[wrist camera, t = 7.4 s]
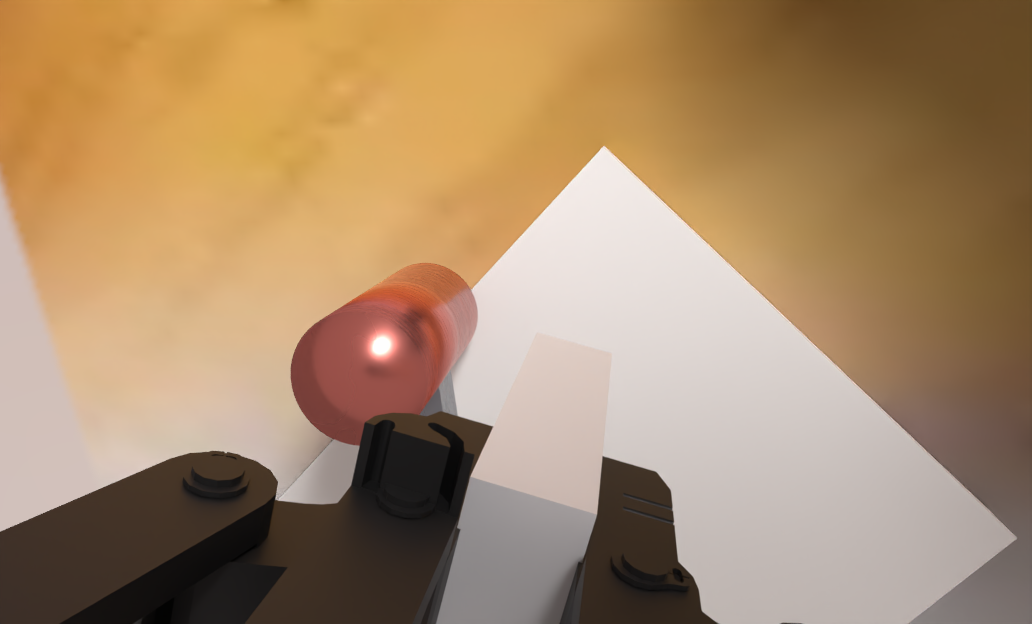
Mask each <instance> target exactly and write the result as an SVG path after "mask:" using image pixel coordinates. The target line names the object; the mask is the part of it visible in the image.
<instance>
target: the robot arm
mask: <svg viewBox="0 0 1032 624" xmlns="http://www.w3.org/2000/svg"><path fill="white" fill-rule="evenodd" d="M611 360H612V353H609V352H605V351H602V350H598V349H595V348H591V347H588V346H584V345H580V344H577V343H573V342H570V341H566V340H563V339H559V338H556V337H552V336H549V335H545V334H542V333H538V332H537V333H536V335H535V337H534V340H533V342H532V344H531V346H530V348H529V350H528V353H527V355H526V357H525V359H524V361H523V363H522V366H521V368H520V370H519V372H518V374H517V376H516V379H515V381H514V383H513V385H512V387H511V390H510V392H509V394H508V396H507V398H506V400H505V403H504V405H503V407H502V409H501V411H500V413H499V416H498V418H497V420H496V422H495V424H494V426H490V425H487V424H483V423H480V422H476V421H473V420H470V419H466V418H463V417H459V416H456V415H452V414H449V413H446V412H442V411H439V412H437V413H434V414H432V415H429V416H422V415H418V414H413V413H387V414H382V415H376V416H374V417H372V418H371V419H369V420H367V421H366V422H365V423H364V428H363V433H362V437H361V442H360V446H359V451H358V456H357V460H356V465H355V470H354V474H353V479H352V483H351V486H350V487H349V489H348V490H347V491H346V493H345V494H344V495H343V497H342V498H341V499H340V500H339V502H338V503H333V504H305V503H296V502H287V501H278V500H275V497H276V491H277V485H278V481H277V480H276V478H275V477H274V475H273V474H272V472H271V471H270V470H269V469H267V468H266V467H264V466H263V465H261V464H260V463H258V462H257V461H254V460H251V459H248V458H245V457H242V456H240V455H238V454H234V453H229V452H227V453H224V452H221V451H210V452H202V453H189V454H186V455H182V456H178V457H175V458H171V459H169V460H166V461H164V462H162V463H159V464H157V465H155V466H152V467H150V468H148V469H145V470H143V471H141V472H138V473H136V474H134V475H131V476H129V477H127V478H124V479H122V480H120V481H117V482H115V483H113V484H110V485H108V486H106V487H103V488H101V489H99V490H96V491H94V492H92V493H89V494H87V495H85V496H83V497H80V498H78V499H75V500H73V501H71V502H68V503H66V504H64V505H61V506H59V507H57V508H54V509H52V510H50V511H47V512H45V513H43V514H41V515H38V516H36V517H34V518H31V519H29V520H27V521H24V522H22V523H20V524H17V525H15V526H13V527H10V528H8V529H6V530H3V531H1V532H0V624H719V623H717V622H715V621H714V620H713V619H711V618H710V617H709V616H708V615H706V614H705V613H704V612H702V609H701V602H700V594H699V589H698V587H697V584H696V582H695V580H694V578H693V576H692V575H691V574H690V573H689V572H688V571H687V570H686V569H685V568H684V567H683V566H682V565H681V564H680V563H679V562H678V555H677V545H676V535H675V525H673V524H674V515H673V511H672V508H673V505H672V495H671V490H670V488H669V487H668V486H667V485H666V483H665V482H664V481H663V479H662V478H661V477H660V476H659V474H658V473H657V472H656V471H652V470H649V469H645V468H642V467H638V466H635V465H632V464H628V463H625V462H621V461H618V460H615V459H611V458H608V457H604V456H603V446H604V435H605V424H606V414H607V403H608V392H609V382H610V371H611ZM781 624H802V623H781Z"/></svg>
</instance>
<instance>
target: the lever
mask: <svg viewBox="0 0 1032 624" xmlns="http://www.w3.org/2000/svg"><path fill="white" fill-rule="evenodd" d="M477 321H478V311H477V305H476V301H475V298H474V295H473V293H472V291H471V289H470V288H469V286H468V285H467V283H466V282H465V281H464V280H463V279H462V278H461V277H460V276H459V275H458V274H456V273H455V272H453V271H452V270H450V269H448V268H446V267H443V266H440V265H437V264H431V263H419V264H413V265H410V266H407V267H405V268H403V269H401V270H399V271H398V272H396V273H394V274H393V275H391V276H390V277H388V278H387V279H385V280H383V281H382V282H380V283H379V284H377V285H376V286H374V287H372V288H371V289H369V290H368V291H366V292H364V293H363V294H361V295H360V296H358V297H357V298H355V299H353V300H352V301H350V302H349V303H347V304H345V305H344V306H342V307H341V308H339V309H338V310H336V311H334V312H333V313H331V314H330V315H328V316H326V317H325V318H323V319H322V320H320V321H319V322H317V323H316V324H314V325H313V326H312V327H311V328H310V329H309V330H308V331H307V332H306V333H305V334H304V335H303V337H302V338H301V340H300V341H299V343H298V345H297V347H296V349H295V352H294V355H293V359H292V364H291V383H292V388H293V392H294V396H295V398H296V401H297V403H298V405H299V407H300V409H301V410H302V412H303V413H304V415H305V416H306V418H307V419H308V420H309V421H310V422H311V423H312V424H313V425H314V426H315V427H316V428H317V429H318V430H320V431H321V432H322V433H324V434H325V435H327V436H329V437H331V438H333V439H335V440H337V441H340V442H342V443H346V444H350V445H357V446H360V442H361V437H362V433H363V428H364V423H365V422H366V421H367V420H369V419H371V418H372V417H374V416H376V415H382V414H387V413H413V414H418V415H422V416H429V415H432V414H434V413H437V412H439V411H442V412H446V413H449V414H452V415H456V416H458V413H457V407H456V401H455V394H454V388H453V382H452V375H451V369H452V367H453V366H454V364H455V363H456V361H457V360H458V358H459V357H460V356H461V354H462V353H463V351H464V350H465V348H466V347H467V346H468V344H469V343H470V341H471V340H472V338H473V336H474V333H475V330H476V327H477Z"/></svg>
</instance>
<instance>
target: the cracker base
mask: <svg viewBox="0 0 1032 624" xmlns="http://www.w3.org/2000/svg"><path fill="white" fill-rule="evenodd" d="M471 291H472V293H473V295H474V298H475V301H476V305H477V311H478V321H477V327H476V330H475V333H474V336H473V338H472V340H471V341H470V343H469V344H468V346H467V347H466V348H465V350H464V351H463V353H462V354H461V356H460V357H459V358H458V360H457V361H456V363H455V364H454V366H453V367H452V369H451V375H452V382H453V388H454V394H455V401H456V407H457V413H458V416H459V417H463V418H466V419H470V420H473V421H476V422H480V423H483V424H487V425H490V426H494V424H495V422H496V420H497V418H498V416H499V413H500V411H501V409H502V407H503V405H504V403H505V400H506V398H507V396H508V394H509V392H510V390H511V387H512V385H513V383H514V381H515V379H516V376H517V374H518V372H519V370H520V368H521V366H522V363H523V361H524V359H525V357H526V355H527V353H528V350H529V348H530V346H531V344H532V342H533V340H534V337H535V335H536V333H537V332H538V333H542V334H545V335H549V336H552V337H556V338H559V339H563V340H566V341H570V342H573V343H577V344H580V345H584V346H588V347H591V348H595V349H598V350H602V351H605V352H609V353H612V360H611V371H610V382H609V392H608V403H607V414H606V424H605V435H604V446H603V456H604V457H608V458H611V459H615V460H618V461H621V462H625V463H628V464H632V465H635V466H638V467H642V468H645V469H649V470H652V471H656V472H657V473H658V474H659V476H660V477H661V478H662V479H663V481H664V482H665V483H666V485H667V486H668V487H669V488H670V490H671V495H672V505H673V508H672V511H673V515H674V524H673V525H675V535H676V545H677V555H678V562H679V563H680V564H681V565H682V566H683V567H684V568H685V569H686V570H687V571H688V572H689V573H690V574H691V575H692V576H693V578H694V580H695V582H696V584H697V587H698V589H699V594H700V602H701V609H702V612H704V613H705V614H706V615H708V616H709V617H710V618H711V619H713V620H714V621H715V622H717V623H719V624H781V623H802V624H908V623H910V622H911V621H912V620H914V619H915V618H916V617H917V616H919V615H920V614H921V613H923V612H924V611H925V610H926V609H928V608H929V607H930V606H931V605H933V604H934V603H935V602H937V601H938V600H939V599H940V598H942V597H943V596H944V595H946V594H947V593H948V592H949V591H951V590H952V589H953V588H954V587H956V586H957V585H958V584H960V583H961V582H962V581H963V580H965V579H966V578H967V577H969V576H970V575H971V574H972V573H974V572H975V571H976V570H977V569H979V568H980V567H981V566H983V565H984V564H985V563H986V562H988V561H989V560H990V559H992V558H993V557H994V556H995V555H997V554H998V553H999V552H1001V551H1002V550H1003V549H1004V548H1006V547H1007V546H1008V545H1009V544H1011V543H1012V542H1013V541H1015V540H1016V539H1017V537H1016V536H1015V535H1014V534H1013V533H1012V532H1011V531H1010V530H1009V529H1008V528H1007V527H1006V526H1005V525H1004V524H1003V523H1002V522H1001V521H1000V520H999V519H998V518H997V517H996V516H995V515H994V514H993V513H992V512H991V511H990V510H989V509H988V508H987V507H986V506H985V505H984V504H982V503H981V502H980V501H979V500H978V499H977V498H976V497H975V496H974V495H973V494H972V493H971V492H970V491H969V490H968V489H967V488H966V487H965V486H963V485H962V484H961V483H960V482H959V481H958V480H957V479H956V478H955V477H954V476H953V475H952V474H951V473H950V472H949V471H948V470H947V469H945V468H944V467H943V466H942V465H941V464H940V463H939V462H938V461H937V460H936V459H935V458H934V457H933V456H932V455H931V454H930V453H929V452H928V451H926V450H925V449H924V448H923V447H922V446H921V445H920V444H919V443H918V442H917V441H916V440H915V439H914V438H913V437H912V436H911V435H910V434H908V433H907V432H906V431H905V430H904V429H903V428H902V427H901V426H900V425H899V424H898V423H897V422H896V421H895V420H894V419H893V418H892V417H891V416H889V415H888V414H887V413H886V412H885V411H884V410H883V409H882V408H881V407H880V406H879V405H878V404H877V403H876V402H875V401H874V400H873V399H871V398H870V397H869V396H868V395H867V394H866V393H865V392H864V391H863V390H862V389H861V388H860V387H859V386H858V385H857V384H856V383H855V382H854V381H852V380H851V379H850V378H849V377H848V376H847V375H846V374H845V373H844V372H843V371H842V370H841V369H840V368H839V367H838V366H837V365H836V364H834V363H833V362H832V361H831V360H830V359H829V358H828V357H827V356H826V355H825V354H824V353H823V352H822V351H821V350H820V349H819V348H818V347H817V346H815V345H814V344H813V343H812V342H811V341H810V340H809V339H808V338H807V337H806V336H805V335H804V334H803V333H802V332H801V331H800V330H799V329H797V328H796V327H795V326H794V325H793V324H792V323H791V322H790V321H789V320H788V319H787V318H786V317H785V316H784V315H783V314H782V313H781V312H780V311H778V310H777V309H776V308H775V307H774V306H773V305H772V304H771V303H770V302H769V301H768V300H767V299H766V298H765V297H764V296H763V295H762V294H761V293H759V292H758V291H757V290H756V289H755V288H754V287H753V286H752V285H751V284H750V283H749V282H748V281H747V280H746V279H745V278H744V277H743V276H741V275H740V274H739V273H738V272H737V271H736V270H735V269H734V268H733V267H732V266H731V265H730V264H729V263H728V262H727V261H726V260H725V259H724V258H722V257H721V256H720V255H719V254H718V253H717V252H716V251H715V250H714V249H713V248H712V247H711V246H710V245H709V244H708V243H707V242H706V241H704V240H703V239H702V238H701V237H700V236H699V235H698V234H697V233H696V232H695V231H694V230H693V229H692V228H691V227H690V226H689V225H688V224H687V223H685V222H684V221H683V220H682V219H681V218H680V217H679V216H678V215H677V214H676V213H675V212H674V211H673V210H672V209H671V208H670V207H669V206H667V205H666V204H665V203H664V202H663V201H662V200H661V199H660V198H659V197H658V196H657V195H656V194H655V193H654V192H653V191H652V190H651V189H650V188H648V187H647V186H646V185H645V184H644V183H643V182H642V181H641V180H640V179H639V178H638V177H637V176H636V175H635V174H634V173H633V172H632V171H630V170H629V169H628V168H627V167H626V166H625V165H624V164H623V163H622V162H621V161H620V160H619V159H618V158H617V157H616V156H615V155H614V154H613V153H611V152H610V151H609V150H608V149H607V148H606V147H605V146H603V147H602V148H601V150H600V151H599V152H598V153H597V154H596V155H595V156H594V157H593V158H592V159H591V160H590V162H589V163H588V164H587V165H586V166H585V167H584V168H583V169H582V170H581V171H580V172H579V173H578V175H577V176H576V177H575V178H574V179H573V180H572V181H571V182H570V183H569V184H568V185H567V186H566V188H565V189H564V190H563V191H562V192H561V193H560V194H559V195H558V196H557V197H556V198H555V200H554V201H553V202H552V203H551V204H550V205H549V206H548V207H547V208H546V209H545V210H544V211H543V213H542V214H541V215H540V216H539V217H538V218H537V219H536V220H535V221H534V222H533V223H532V224H531V226H530V227H529V228H528V229H527V230H526V231H525V232H524V233H523V234H522V235H521V236H520V238H519V239H518V240H517V241H516V242H515V243H514V244H513V245H512V246H511V247H510V248H509V249H508V251H507V252H506V253H505V254H504V255H503V256H502V257H501V258H500V259H499V260H498V261H497V262H496V264H495V265H494V266H493V267H492V268H491V269H490V270H489V271H488V272H487V273H486V274H485V276H484V277H483V278H482V279H481V280H480V281H479V282H478V283H477V284H476V285H475V286H474V287H473V289H472V290H471ZM358 451H359V446H357V445H350V444H346V443H342V442H340V441H337V440H335V439H333V441H332V442H331V443H330V444H329V445H328V446H327V447H326V448H325V449H324V450H323V451H322V453H321V454H320V455H319V456H318V457H317V458H316V459H315V460H314V461H313V462H312V463H311V464H310V466H309V467H308V468H307V469H306V470H305V471H304V472H303V473H302V474H301V475H300V476H299V477H298V479H297V480H296V481H295V482H294V483H293V484H292V485H291V486H290V487H289V488H288V489H287V491H286V492H285V493H284V494H283V495H282V496H281V497H280V498H279V499H278V501H287V502H296V503H305V504H333V503H338V502H339V500H340V499H341V498H342V497H343V495H344V494H345V493H346V491H347V490H348V489H349V487H350V486H351V483H352V479H353V474H354V470H355V465H356V460H357V456H358Z"/></svg>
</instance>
